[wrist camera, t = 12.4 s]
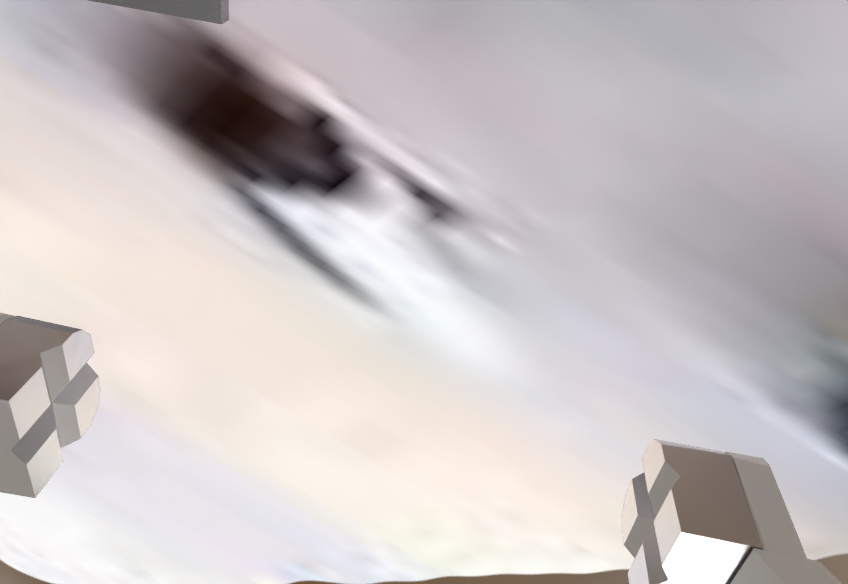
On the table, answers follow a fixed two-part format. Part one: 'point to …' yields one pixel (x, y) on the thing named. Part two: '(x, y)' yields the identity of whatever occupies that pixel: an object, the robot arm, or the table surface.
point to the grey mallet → (180, 8)
